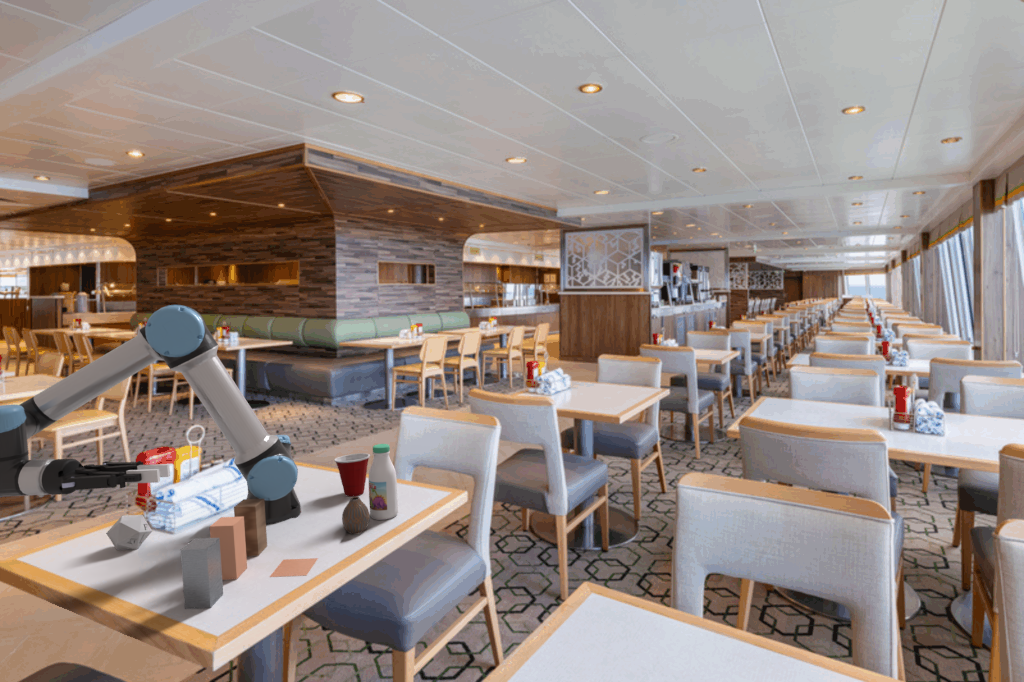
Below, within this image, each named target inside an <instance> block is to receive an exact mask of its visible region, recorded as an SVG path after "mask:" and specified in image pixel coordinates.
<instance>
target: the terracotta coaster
mask: <svg viewBox="0 0 1024 682" xmlns="http://www.w3.org/2000/svg"><path fill="white" fill-rule="evenodd" d="M318 559H319V558H317V557H316V558H315V557H314V558H291V559H290V558H287V559H282V560H281V562H280V563H279V565H277V567H276V568H275V569H274V570H273V572H272V573H271V574H270V575H269V578H279V577H303V576H308V574H309V573H310V572H311V569H312V568H313V566H314V565H315V564H316V562H317V561H318Z"/></svg>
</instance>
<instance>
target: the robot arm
mask: <svg viewBox="0 0 1024 682" xmlns="http://www.w3.org/2000/svg"><path fill="white" fill-rule="evenodd" d="M218 349H219V344H218V342H217V341H216V339H215V338H214V336H213V335H212V333H211V331H210V330H209V328H208V326H207V324H206V321H205V318H204V317H203V316H202V314H201V313H200V312H198V311H197V310H196V309H194V308H193V307H191V306H187V305H181V304H171V305H170V304H168V305H165V306H163V307H160V308H159V309H158V310H155V311H154V312H153V313H152V314H151V316H149V318H148V319H147V321H146V324H145V326H143V327H141V328H139V329H138V330H137V335H136V336H134V337H133V338H131V339H129V340H127V341H126V342H124V343H122V344H120V345H119V346H117V347H116V348H114V349H111V351H110V350H109V352H107V353H105V354H104V355H102V356H100V357H98V358H97V359H95V360H93V361H92V362H90V363H88V364H86V365H85V366H83V367H81V368H80V369H78V370H77V371H74V372H72V373H71V374H70V375H67V376H66V377H64V378H63V379H61V380H58V381H57V382H56V383H54V384H53V385H51V386H49V387H47V388H46V389H44V390H42V391H40V392H39V393H37V394H35V395H34V396H32V397H30V398H28V399H27V400H25V401H23V402H22V403H20V404H5V405H3V404H2V405H0V498H4V497H5V498H6V497H21V496H22V497H24V496H38V497H39V498H43V497H44V496H47V495H50V496H51V495H53V496H57V495H70V494H72V493H75V491H78V490H79V491H80V490H97V489H98V490H99V489H111V488H112V489H115V488H116V487H117V486H119V489H123V488H126V487H127V486H126V484H148V483H149V484H150V483H151V484H152V483H153V484H154V483H160V482H161V478H169V477H170V476H171V471H170V464H169V463H162V464H161V463H160V464H159V463H158V464H157V463H156V464H155V463H154V464H144V461H141V460H138V461H119V462H117V461H114V462H113V461H103V462H102V464H93V463H91V464H85V465H82V463H81V462H80V461H79V460H78V459H75V458H57V459H55V458H49V459H48V458H47V459H29V458H30V457H29V445H28V440H29V439H30V438H32V437H33V436H35V435H37V434H39V433H41V432H42V431H43V430H45V429H46V428H48V427H50V426H51V425H53V424H55V423H56V422H57V421H59V420H61V419H63V418H64V417H66V416H68V415H69V414H70V413H72V412H74V411H75V410H77V409H79V408H80V407H82V406H83V405H84V406H85V404H87V403H89V402H91V401H92V400H94V399H95V398H97V397H98V396H101V395H102V394H104V393H105V392H107V391H108V390H110V389H113V388H114V387H115V386H117V385H118V384H121V383H122V382H123V381H126V380H127V379H129V378H131V377H132V376H134V375H135V374H138V372H140V371H142V370H144V369H145V368H147V367H148V366H150V365H152V364H154V363H155V362H156V361H164V362H165V364H166V366H167V367H168V368H169V369H170V371H172V372H173V371H174V372H179V373H181V375H182V376H183V377H184V379H185V380H186V382H187V384H188V386H190V387H191V389H192V391H193V393H194V394H195V395H196V397H197V398H198V399H199V402H200V403H201V404H202V406H203V407H204V409H205V410H206V412H207V413H208V414H209V415H210V417H211V418H212V421H214V423H215V425H216V426H217V427H218V429H219V430H220V432H221V433H222V435H223V436H224V438H225V440H226V441H227V442H228V443H229V445H230V447H231V448H232V449H233V451H234V453H235V457H234V460H233V461H234V462H233V463H234V465H235V466H236V468H237V469H238V471H239V472H240V474H241V475H242V477H243V478H244V479H245V481H246V485H247V497H246V499H264V502H265V518H266V526H267V525H273V524H277V523H281V522H285V521H287V520H290V519H296V518H297V517H299V516H300V515H301V513H302V510H301V508H302V507H301V502H300V500H299V498H298V496H297V493H296V490H295V489H294V488H295V487H296V484H297V481H298V477H299V476H298V473H299V468H298V466H297V464H296V463H295V461H294V458H293V456H292V451H291V450H292V449H291V446H292V442H291V438H290V436H289V435H287V434H270V433H268V432H267V430H266V428H265V427H264V426H263V424H262V422H261V420H260V419H259V417H258V416H257V415H256V413H255V411H254V410H253V408H252V407H251V405H250V403H248V400H246V398H245V396H244V395H243V393H242V391H241V389H239V387H238V385H237V384H236V382H235V381H234V379H233V378H232V377H231V375H230V373H229V372H228V370H227V368H226V367H225V365H224V364H223V362H222V360H220V358H219V356H218V353H217V352H218Z"/></svg>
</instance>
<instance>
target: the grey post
mask: <svg viewBox="0 0 1024 682" xmlns="http://www.w3.org/2000/svg"><path fill="white" fill-rule="evenodd" d="M180 559H181V561H180V562H181V572H182V584H183V585H182V587H183V601H184V609H185V610H186V609H188V610H189V609H211V608H212V607H213V606H214V605H215V604H216V602H218V601H219V599H220V598H222V596H223V595H224V586H223V584H224V583H223V580H222V569H221V554H220V540H219V538H210V537H202V538H201V537H200V538H194V539H192V540H191V541H190V542H189V543H187V544H186V545H184V547H182V548H181V549H180Z"/></svg>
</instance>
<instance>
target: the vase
mask: <svg viewBox="0 0 1024 682" xmlns="http://www.w3.org/2000/svg"><path fill="white" fill-rule="evenodd" d="M341 522H342V526H343V528H344V530H345V531H346V532H347V533H349V534H351V535H352V534H353V535H355V534H360V533H362V532H364V531H365V530H366V529H367V528H368V526H369V522H370V510H369V508H368V507H367V505H366V504H365V503H364V501H362V500H361V498H360V496H352V497H349V501H348V503H347V504H346V505H345V507H344V509H343V511H342V515H341Z"/></svg>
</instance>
